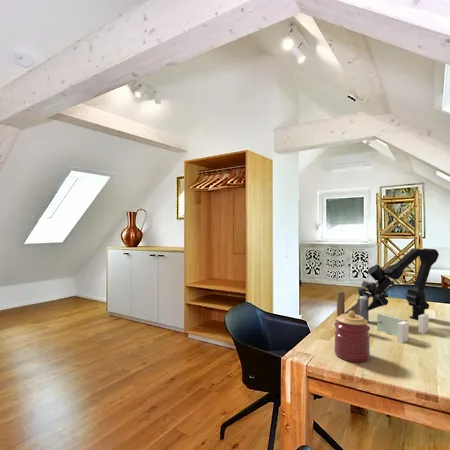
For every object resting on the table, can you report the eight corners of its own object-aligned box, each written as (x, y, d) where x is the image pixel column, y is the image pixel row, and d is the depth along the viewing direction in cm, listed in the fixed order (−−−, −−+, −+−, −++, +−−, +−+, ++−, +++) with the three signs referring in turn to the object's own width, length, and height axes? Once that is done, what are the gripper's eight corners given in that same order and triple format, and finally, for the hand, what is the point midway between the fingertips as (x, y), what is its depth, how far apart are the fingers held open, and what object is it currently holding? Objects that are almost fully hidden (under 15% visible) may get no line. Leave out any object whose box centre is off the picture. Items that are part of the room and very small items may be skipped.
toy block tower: (357, 332, 145) (357, 295, 145) (335, 327, 152) (335, 291, 152) (359, 330, 148) (360, 293, 148) (338, 325, 155) (338, 290, 155)
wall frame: (423, 329, 149) (424, 313, 149) (428, 331, 147) (428, 314, 147) (397, 341, 134) (397, 323, 134) (402, 342, 133) (402, 324, 133)
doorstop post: (362, 319, 165) (362, 295, 165) (370, 321, 161) (370, 297, 161) (357, 321, 162) (357, 296, 162) (365, 323, 159) (365, 298, 159)
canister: (352, 365, 111) (352, 317, 111) (327, 351, 123) (327, 308, 123) (377, 359, 116) (377, 313, 116) (351, 346, 128) (351, 305, 128)
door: (407, 338, 138) (408, 320, 138) (404, 339, 136) (404, 321, 136) (379, 329, 149) (379, 313, 149) (375, 330, 148) (375, 314, 148)
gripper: (360, 273, 172) (342, 293, 170) (383, 279, 153) (363, 301, 152) (373, 286, 173) (355, 306, 171) (396, 294, 155) (377, 316, 153)
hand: (362, 307), depth 162 cm, fingers open, 9 cm apart
